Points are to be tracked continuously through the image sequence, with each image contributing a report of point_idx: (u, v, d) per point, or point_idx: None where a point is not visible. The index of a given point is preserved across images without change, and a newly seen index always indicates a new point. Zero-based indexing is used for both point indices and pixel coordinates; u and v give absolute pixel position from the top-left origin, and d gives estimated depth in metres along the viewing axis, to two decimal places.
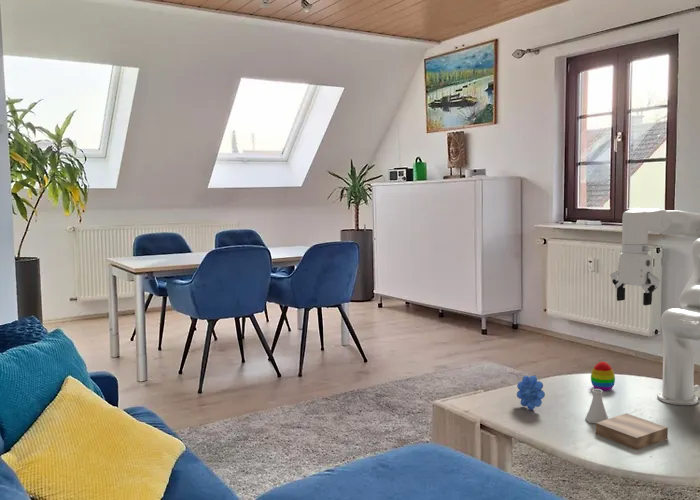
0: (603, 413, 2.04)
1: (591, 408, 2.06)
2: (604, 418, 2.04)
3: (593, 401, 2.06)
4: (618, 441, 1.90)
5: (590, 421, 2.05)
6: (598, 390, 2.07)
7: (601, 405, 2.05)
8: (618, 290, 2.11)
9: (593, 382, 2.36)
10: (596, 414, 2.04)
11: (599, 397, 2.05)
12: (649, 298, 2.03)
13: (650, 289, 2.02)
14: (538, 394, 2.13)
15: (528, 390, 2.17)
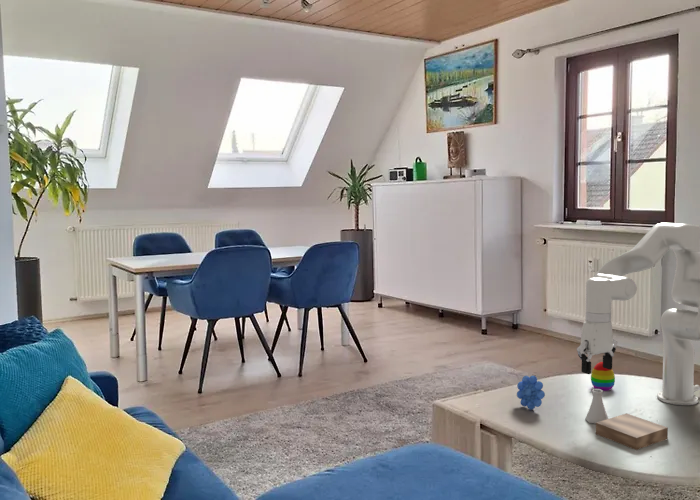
0: (603, 413, 2.04)
1: (591, 408, 2.06)
2: (604, 418, 2.04)
3: (593, 401, 2.06)
4: (618, 441, 1.90)
5: (590, 421, 2.05)
6: (598, 390, 2.07)
7: (601, 405, 2.05)
8: (590, 363, 2.01)
9: (593, 382, 2.36)
10: (596, 414, 2.04)
11: (599, 397, 2.05)
12: None
13: (613, 352, 2.07)
14: (538, 394, 2.13)
15: (528, 390, 2.17)
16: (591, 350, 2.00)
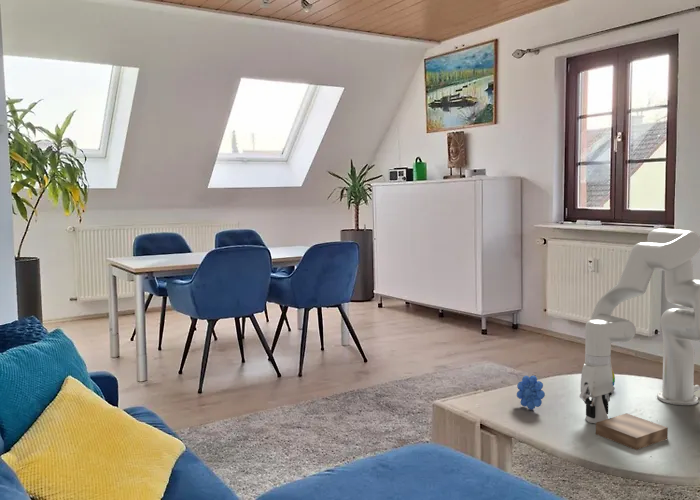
0: (603, 413, 2.04)
1: None
2: (604, 418, 2.04)
3: None
4: (618, 441, 1.90)
5: (590, 421, 2.05)
6: None
7: (601, 405, 2.05)
8: (594, 407, 2.04)
9: None
10: (596, 414, 2.04)
11: (599, 397, 2.05)
12: None
13: (609, 397, 2.08)
14: (538, 394, 2.13)
15: (528, 390, 2.17)
16: (591, 392, 2.02)
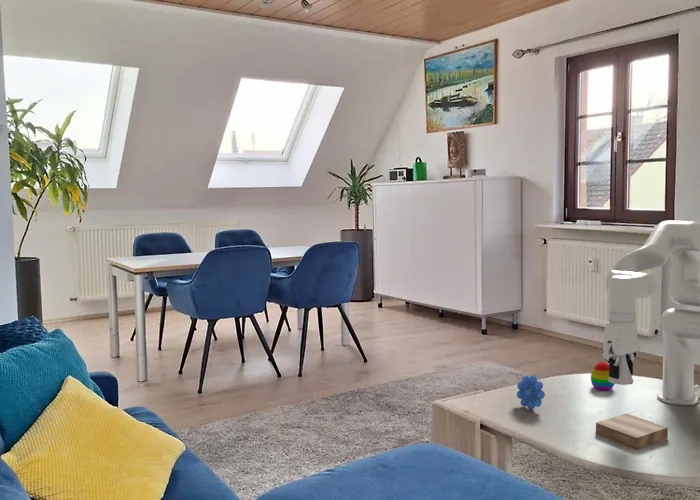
0: (627, 373, 1.94)
1: None
2: (628, 378, 1.93)
3: None
4: (618, 441, 1.90)
5: (613, 382, 1.94)
6: None
7: (625, 365, 1.94)
8: (618, 367, 1.93)
9: (593, 382, 2.36)
10: (620, 374, 1.94)
11: (623, 356, 1.94)
12: None
13: (633, 357, 1.97)
14: (538, 394, 2.13)
15: (528, 390, 2.17)
16: (615, 351, 1.91)
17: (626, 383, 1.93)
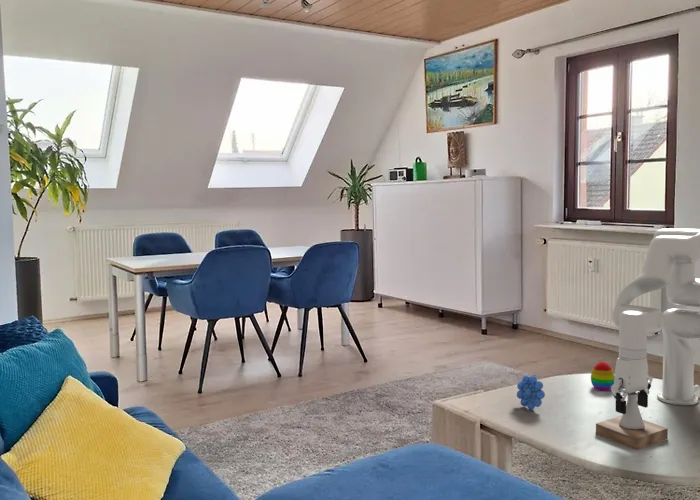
0: (639, 417, 1.91)
1: (626, 412, 1.92)
2: (640, 423, 1.91)
3: (628, 405, 1.92)
4: (618, 442, 1.90)
5: (625, 426, 1.91)
6: (632, 393, 1.94)
7: (637, 409, 1.91)
8: (625, 402, 1.89)
9: (593, 382, 2.36)
10: (632, 419, 1.91)
11: (634, 400, 1.91)
12: None
13: (648, 389, 1.95)
14: (538, 394, 2.13)
15: (528, 390, 2.17)
16: (626, 389, 1.88)
17: (638, 428, 1.90)
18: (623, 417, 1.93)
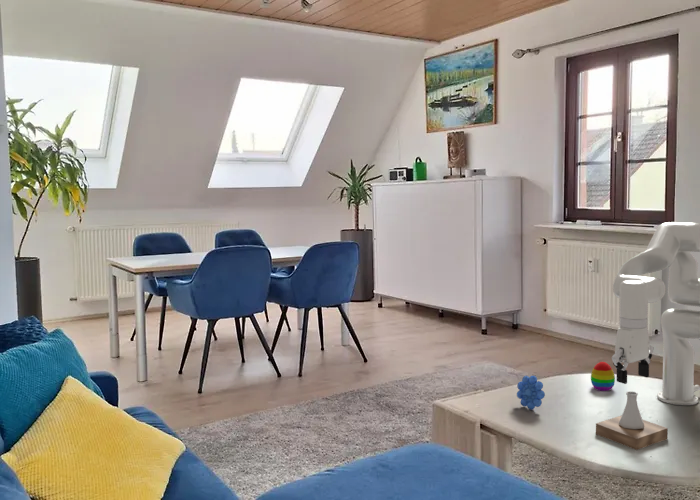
0: (638, 417, 1.91)
1: (625, 412, 1.93)
2: (640, 423, 1.91)
3: (627, 404, 1.92)
4: (618, 442, 1.90)
5: (625, 426, 1.91)
6: (632, 393, 1.94)
7: (636, 409, 1.91)
8: (626, 372, 1.88)
9: (593, 382, 2.36)
10: (631, 419, 1.91)
11: (634, 400, 1.92)
12: None
13: (649, 359, 1.94)
14: (538, 394, 2.13)
15: (528, 390, 2.17)
16: (627, 358, 1.88)
17: (638, 427, 1.90)
18: (623, 417, 1.93)
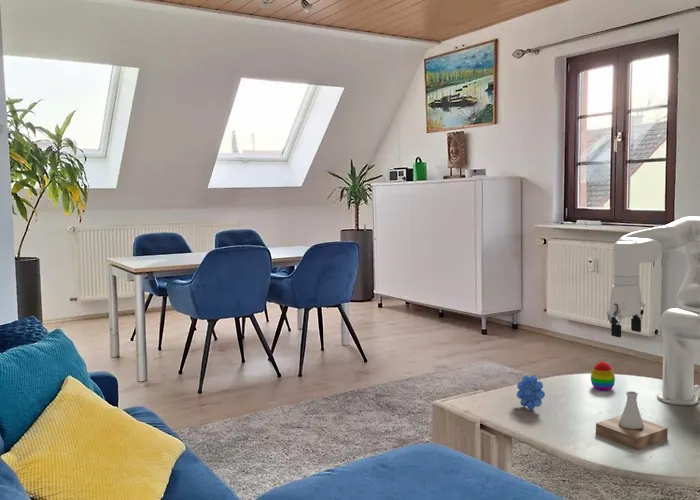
0: (638, 417, 1.91)
1: (625, 412, 1.92)
2: (639, 423, 1.91)
3: (627, 404, 1.92)
4: (618, 442, 1.90)
5: (624, 426, 1.91)
6: (632, 393, 1.93)
7: (636, 409, 1.91)
8: (620, 326, 2.02)
9: (593, 382, 2.36)
10: (631, 418, 1.91)
11: (634, 400, 1.91)
12: None
13: (641, 315, 2.08)
14: (538, 394, 2.13)
15: (528, 390, 2.17)
16: (621, 313, 2.01)
17: (637, 427, 1.90)
18: (622, 416, 1.93)
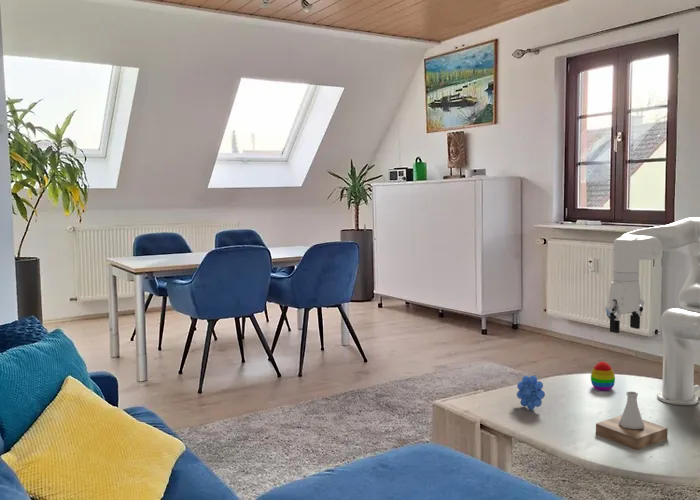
0: (639, 417, 1.91)
1: (625, 412, 1.92)
2: (640, 423, 1.91)
3: (628, 405, 1.92)
4: (618, 442, 1.90)
5: (625, 426, 1.91)
6: (632, 393, 1.94)
7: (636, 409, 1.91)
8: (619, 322, 2.03)
9: (593, 382, 2.36)
10: (631, 419, 1.91)
11: (634, 400, 1.91)
12: None
13: (640, 312, 2.09)
14: (538, 394, 2.13)
15: (528, 390, 2.17)
16: (619, 309, 2.02)
17: (638, 427, 1.90)
18: (623, 417, 1.93)
